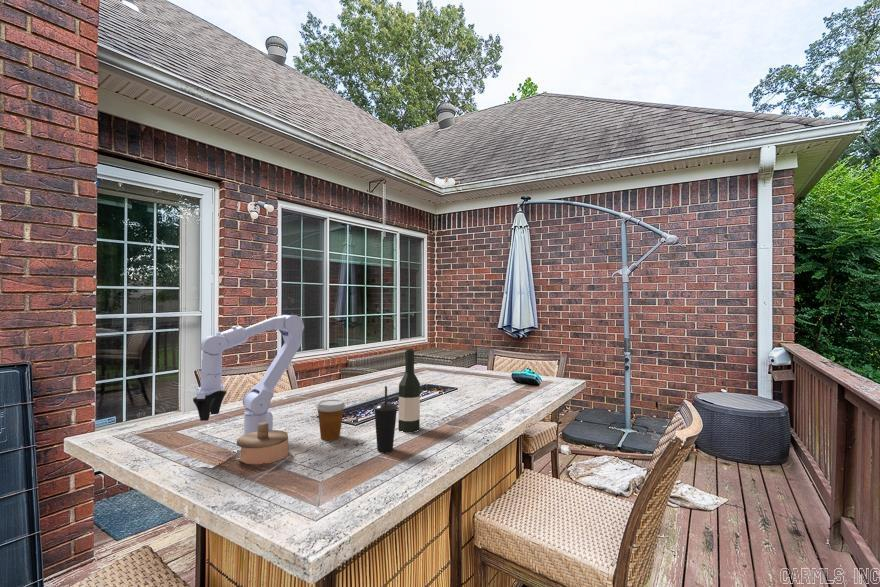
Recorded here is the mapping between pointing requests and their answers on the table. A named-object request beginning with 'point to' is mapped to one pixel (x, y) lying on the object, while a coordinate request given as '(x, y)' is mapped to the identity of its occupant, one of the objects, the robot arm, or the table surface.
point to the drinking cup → (385, 424)
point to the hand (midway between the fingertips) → (209, 417)
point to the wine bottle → (409, 397)
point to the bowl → (264, 453)
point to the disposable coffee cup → (330, 418)
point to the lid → (262, 437)
